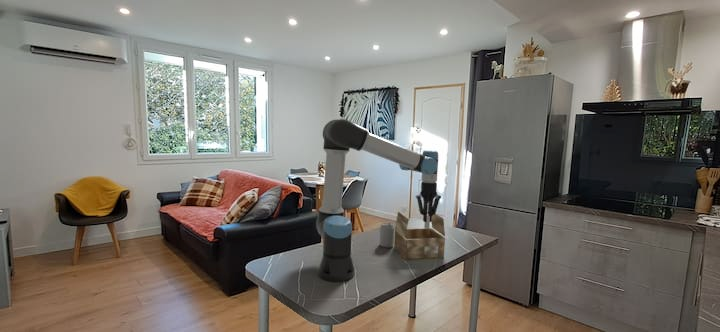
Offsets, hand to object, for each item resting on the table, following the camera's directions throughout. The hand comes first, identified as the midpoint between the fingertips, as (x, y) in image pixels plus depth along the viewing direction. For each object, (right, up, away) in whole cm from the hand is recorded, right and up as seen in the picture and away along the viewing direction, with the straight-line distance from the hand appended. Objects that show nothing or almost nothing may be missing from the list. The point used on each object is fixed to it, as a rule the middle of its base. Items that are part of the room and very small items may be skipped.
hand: (426, 228), depth 161 cm
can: (-20, -11, +9) cm, 24 cm away
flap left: (-13, +3, -3) cm, 14 cm away
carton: (-4, -13, 0) cm, 13 cm away
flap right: (+5, +2, +1) cm, 6 cm away
